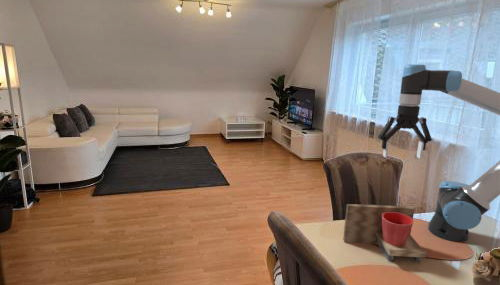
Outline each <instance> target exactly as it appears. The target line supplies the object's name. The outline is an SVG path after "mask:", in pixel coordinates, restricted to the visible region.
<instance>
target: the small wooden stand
mask: <svg viewBox="0 0 500 285" xmlns="http://www.w3.org/2000/svg"><path fill="white" fill-rule="evenodd" d="M376 236H377V238H378V240H377V247H378V248H379V250H380V251H381V252H382V253H383V255H384V256H385V258H386V260H387V261H388V262H393V261H394V260H393V259H394V257H408V258H411V259H412V260H413V262H415V263H421V259H422V258H427V254H428V251H427V249H424V248H422V247H421V246H420V244H419V243H418V242H417V241H416V240H415V238H414V237H413V236H412V235H410V234H409V236H408V238H407V240H406V243H405V244H404V245H403V246H394V245H390V244H388V243H387V242H385V241H384V239H383V233H377V234H376Z"/></svg>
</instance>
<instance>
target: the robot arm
mask: <svg viewBox="0 0 500 285" xmlns="http://www.w3.org/2000/svg"><path fill="white" fill-rule="evenodd" d="M400 84H401V85H400V92H399V100H398V103H399V105H398V108H397V116H396V117H394V116H391V115H390V116H388V119H387V122H386V124H385V125H384V127H383V128H382V129H381V132H379V134H378V136H377V138H378V139H379V140H382V143H381V148H382V150H383V151H382V156H383V157H384V158H388V154H389V148H390V147H389V145H390V141H389V140H390V139H391V138H392V137H393V136H394V135H395V134H396V133H398V131H399V130H401V129H409V130H411V129H412V130H413V131H414V133H415V134H416V135H417V137H418V138H419V139H420V141H418V144H417V151H416V157H417V158H418V159H420V160H421V159H422V157H423V151H425V150H426V146H427V144H428V143H429V142H432V141H433V139H432V136H431V134H430V130H429V128H428V127H429V126H428V125H427V118H426V117H419V115H420V110H421V109H420V108H421V107H420V105H421V101H422V93H423V91H433V92H434V91H435V92H436V91H437V92H442V93H444V94H445V95H448V96H451V97H454V98H456V99H458V100H461V101H463V102H466V103H468V104H471V105H473V106H476V107H478V108H481V109H483V110H486V111H488V112H490V113H493V114H495V115H497V116H500V92H499V91H496V90H494V89H491V88H488V87H485V86H484V85H481V84H478V83H475V82H472V81H471V80H467V79H465V78H463V73H462V72H461V71H460V70H451V69H450V70H447V69H446V70H443V69H441V70H440V69H437V70H436V69H435V70H430V69H427V68H426V65H425V64H414V63H413V64H412V63H411V64H406V65H404V67H403V70H402V77H401V83H400ZM395 122H396V123H395ZM394 123H395V125H394V126H393V124H394ZM418 123H420V126H421V130H422V131H421V130H420V129H419V127H418V125H417V124H418ZM392 126H393V127H392ZM391 127H392V128H391ZM498 197H500V160H498V162H496V163H495V164H494V165H493V166H492V167H490V168H489V169H488V170H487V171H485V172H484V173H483V174H482V175H481V176H479V177H478V178H477V179H476V180H474V182H472V183H471V184H470V185H469V184H467V183H464V182H463V183H462V182H458V181H451V180H443V181H442V182H440V183H439V187H438V195H437V200H436V206H435V212H434V214H433V215H432V217H431V219H430V221H429V222H428V226H427V227H428V228H427V229H428V231H429V232H430V233H432V234H433V235H434V236H436V237H438V238H441V239H444V240H446V241H447V240H448V241H453V242H464V241H465V242H466V241H468V239H469V236H470V232H469V230H472V229H474V228H476V227H477V226H478V225H480V224H481V221H482V218H483V217H482V216H483V215H484V214H485V213H487V212H488V211H490V210H491V208H490V206H491V205H490V204H491V202H493V201H494V200H496V199H497V198H498Z"/></svg>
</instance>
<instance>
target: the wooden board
mask: <svg viewBox="0 0 500 285" xmlns="http://www.w3.org/2000/svg"><path fill="white" fill-rule="evenodd" d="M386 212H397V213H401V214H404V215H407V216H409V217H410V218H411V219H412V220H413V219H414V214H415V208H414V207H413V206H408V205H406V206H405V205H404V206H403V205H385V204H384V205H383V204H382V205H380V204H359V203H357V204H356V203H354V204H353V203H352V204H351V203H346V208H345V219H344V228H343V236H342V237H343V238H342V240H343V242H344V243H350V244H351V243H352V244H353V243H355V244H375V243H377V240H378V238H377V236H376V234H377V233H383V228H382V214H384V213H386ZM413 221H414V220H413ZM411 232H412V230H411V231H410V233H409V234H410V235H411V234H412V233H411ZM411 236H412V235H411ZM375 245H376V244H375Z"/></svg>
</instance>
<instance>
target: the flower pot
mask: <svg viewBox="0 0 500 285" xmlns="http://www.w3.org/2000/svg"><path fill="white" fill-rule="evenodd" d="M413 225H414V220H412V219H411V218H410V217H409V216H407V215H404V214H401V213H397V212H386V213H384V214H382V228H383V239H384V241H385V242H387V243H388V244H390V245H394V246H403V245H404V244H405V243H406V240H407V238H408V236H409V233H410V231H411V232H412V227H413Z"/></svg>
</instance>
